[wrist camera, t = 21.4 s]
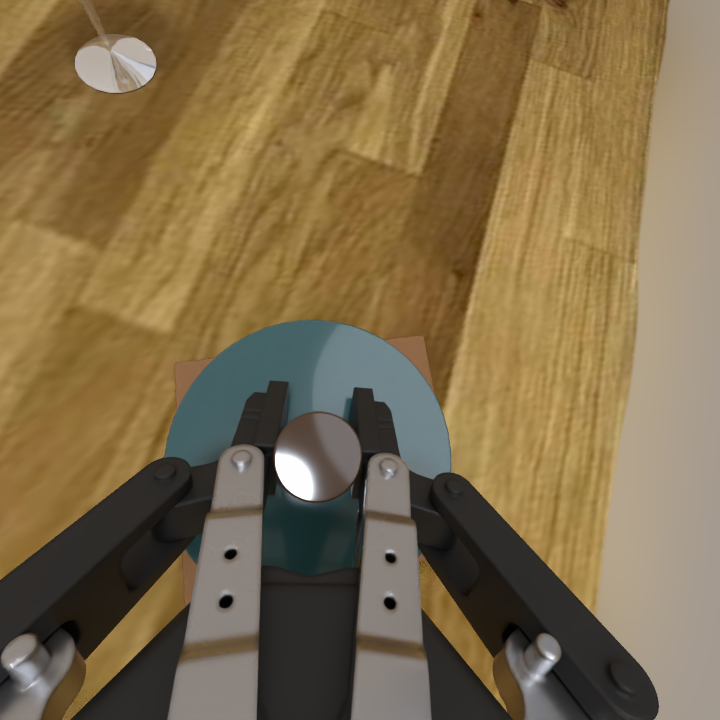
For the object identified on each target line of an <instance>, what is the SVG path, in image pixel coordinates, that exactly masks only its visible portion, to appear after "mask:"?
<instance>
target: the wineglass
mask: <svg viewBox="0 0 720 720" xmlns="http://www.w3.org/2000/svg"><path fill="white" fill-rule="evenodd" d="M79 1H80V3H81V4H82V6H83V8H84V10H85V12H86V14H87V15H88V17H89V19H90V21H91V23H92V24H93V26H94V28H95V30H96V32H97V34H98V35H99V36H98V37H96V38H94V39H92V40H90V41H88V42H86V43H85V44H84V45H83V46H82V47H81V48H80V49H79V51H78V53H77V55H76V57H75V69H76V71H77V73H78V75H79V77H80V78H81V79H82V80H83V81H84V82H85V83H86V84H87V85H89V86H91V87H93V88H95V89H97V90H100V91H105V92H109V93H124V92H128V91H132V90H136V89H138V88H139V87H141V86H143V85H145V84H146V83H147V82H148V81H149V80H150V79H151V78H152V77H153V75H154V72H155V69H156V58H155V56H154V54H153V52H152V50H151V49H150V48H149V47H148V46H147V45H146V44H145V43H144V42H142V41H140V40H138V39H136V38H134V37H131V36H127V35H123V34H107V35H106V33H105V31H104V29H103V27H102V24H101V22H100V20H99V18H98V15H97V13H96V11H95V9H94V6H93V4H92V2H91V0H79Z"/></svg>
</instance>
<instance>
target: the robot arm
mask: <svg viewBox="0 0 720 720" xmlns="http://www.w3.org/2000/svg"><path fill="white" fill-rule="evenodd" d="M288 391H289V382H285V381H273V380H270V381H269V385H268V389H267V392H266V393H262V392H254V393H253V394H252V395H251V396H250V397H249V398H248V399H247V400H246V403H245V406H244V409H243V412H242V415H241V419H240V421H239V424H238V427H237V430H236V433H235V435H234V438H233V441H232V444H231V447H230V448H229V449H227V450H226V451H224V452H223V453H222V455H221V456H220V458H219V460H217V461H214V462H212V463H208V464H204V465H199V466H194V467H190V465H189V463H188V462H187V461H186V460H184V459H182V458H178V457H166V458H161V459H158V460H156V461H154V462H152V463H150V464H149V465H147V466H146V467H145V468H143V469H142V470H141V471H140V472H138V473H137V474H136V475H134V476H133V477H132V478H131V479H129V480H128V481H127V482H126V483H124V484H123V485H122V486H120V487H119V488H118V489H117V490H115V491H114V492H113V493H111V494H110V495H109V496H108V497H106V498H105V499H104V500H102V501H101V502H100V503H99V504H97V505H96V506H95V507H93V508H92V509H91V510H90V511H88V512H87V513H86V514H84V515H83V516H82V517H81V518H79V519H78V520H77V521H75V522H74V523H73V524H72V525H70V526H69V527H68V528H67V529H65V530H64V531H63V532H61V533H60V534H59V535H58V536H56V537H55V538H54V539H52V540H51V541H50V542H49V543H47V544H46V545H45V546H43V547H42V548H41V549H40V550H38V551H37V552H36V553H34V554H33V555H32V556H31V557H29V558H28V559H27V560H25V561H24V562H23V563H22V564H20V565H19V566H18V567H16V568H15V569H14V570H13V571H11V572H10V573H9V574H8V575H6V576H5V577H4V578H2V579H1V580H0V720H62V718H63V716H64V714H65V712H66V711H67V709H68V708H69V706H70V705H71V704H72V702H73V701H74V699H75V698H76V697H77V695H78V693H79V691H80V690H81V687H82V685H83V683H84V679H85V675H86V664H85V660H86V659H87V658H88V656H89V655H90V654H91V653H92V652H93V651H94V650H95V649H96V648H97V646H98V645H99V644H100V643H101V642H102V641H103V640H104V639H105V638H106V637H107V635H108V634H109V633H110V632H111V631H112V630H113V629H114V628H115V627H116V625H117V624H118V623H119V622H120V621H121V620H122V619H123V618H124V617H125V615H126V614H127V613H128V612H129V611H130V610H131V609H132V608H133V607H134V605H135V604H136V603H137V602H138V601H139V600H140V599H141V598H142V597H143V596H144V594H145V593H146V592H147V591H148V590H149V589H150V588H151V587H152V586H153V584H154V583H155V582H156V581H157V580H158V579H159V578H160V577H161V576H162V574H163V573H164V572H165V571H166V570H167V569H168V568H169V567H170V566H171V564H172V563H173V562H174V561H175V560H176V559H177V558H178V557H179V556H180V555H181V553H182V552H183V551H184V550H185V549H186V548H187V547H188V546H189V545H190V543H191V542H192V541H193V540H194V539H195V537H196V535H200V534H203V535H202V541H201V547H200V552H199V558H198V564H197V570H196V576H195V581H194V587H193V593H192V599H191V602H190V603H189V604H188V605H187V606H186V607H185V608H184V609H183V610H182V611H181V612H180V613H179V614H178V615H177V616H176V617H175V618H174V619H173V620H172V621H171V622H169V623H168V624H167V625H166V626H165V627H164V628H163V629H162V630H161V631H160V632H159V633H158V634H157V635H156V636H155V637H154V638H153V639H152V640H151V641H150V642H149V643H148V644H147V645H146V646H145V647H144V648H143V649H142V650H141V651H140V652H139V653H138V654H137V655H136V656H135V657H134V658H133V659H132V660H131V661H130V662H129V663H128V664H127V665H126V666H125V667H124V668H123V669H122V670H121V671H120V672H119V673H118V674H117V675H116V676H115V677H114V678H113V679H112V680H110V681H109V682H108V683H107V684H106V685H105V686H104V687H103V688H102V689H101V690H100V691H99V692H98V693H97V694H96V695H95V696H94V697H93V698H92V699H91V700H90V701H89V702H88V703H87V704H86V705H85V706H84V707H83V708H82V709H81V710H80V711H79V712H78V713H77V714H76V715H75V716H74V717H73V718H72V719H71V720H654V719H655V717H656V716H657V713H658V708H659V704H658V697H657V694H656V691H655V688H654V686H653V684H652V682H651V680H650V678H649V677H648V675H647V673H646V672H645V671H644V670H643V668H642V667H641V666H640V665H639V663H637V661H636V660H635V659H634V658H633V657H632V656H631V655H630V654H629V653H628V652H627V651H626V649H624V647H623V646H622V645H621V644H620V643H619V642H618V641H617V640H616V639H615V638H614V637H613V636H612V634H611V633H610V632H609V631H608V630H607V629H606V628H605V627H604V626H603V625H602V624H601V623H600V622H599V621H598V619H597V618H596V617H595V616H594V615H593V614H592V613H591V612H590V611H589V610H588V609H587V608H586V607H585V606H584V604H583V603H582V602H581V601H580V600H579V599H578V598H577V597H576V596H575V595H574V594H573V593H572V592H571V591H570V590H569V588H568V587H567V586H566V585H565V584H564V583H563V582H562V581H561V580H560V579H559V578H558V577H557V576H556V575H555V573H554V572H553V571H552V570H551V569H550V568H549V567H548V566H547V565H546V564H545V563H544V562H543V561H542V560H541V558H540V557H539V556H538V555H537V554H536V553H535V552H534V551H533V550H532V549H531V548H530V547H529V546H528V545H527V544H526V542H525V541H524V540H523V539H522V538H521V537H520V536H519V535H518V534H517V533H516V532H515V531H514V530H513V529H512V527H511V526H510V525H509V524H508V523H507V522H506V521H505V520H504V519H503V518H502V517H501V516H500V515H499V514H498V512H497V511H496V510H495V509H494V508H493V507H492V506H491V505H490V504H489V503H488V502H487V501H486V500H485V499H484V498H483V496H482V495H481V494H480V493H479V492H478V491H477V490H476V489H475V488H474V487H473V486H472V485H471V484H470V483H469V482H468V481H467V480H466V479H465V478H463V477H462V476H460V475H458V474H455V473H450V472H445V473H440V474H438V475H437V476H436V477H435V478H434V480H433V479H430V478H427V477H424V476H421V475H418V474H416V473H414V472H412V471H411V470H409V468H408V465H407V464H406V462H405V461H404V460H403V459H402V458H401V457H400V452H399V447H398V442H397V437H396V432H395V429H394V422H393V417H392V412H391V410H390V408H389V407H388V406H387V405H386V403H385V402H380V401H374V395H373V389H372V388H359V387H354V390H353V396H352V402H351V408H350V415H349V424H350V425H351V426H352V427H353V429H354V430H355V432H356V433H357V435H358V437H359V440H360V443H361V447H362V465H361V469H360V472H359V475H358V477H357V479H356V481H355V482H354V484H353V485H352V486H351V499H359V510H358V515H357V523H356V533H355V543H354V553H353V562H352V567H345V568H341V569H337V570H333V571H329V572H325V573H321V574H317V575H313V576H308V575H304V574H301V573H297V572H294V571H291V570H287V569H284V568H280V567H277V566H263V526H264V509H265V506H266V501H267V496H268V495H275V490H276V484H277V477H276V474H275V471H274V467H273V450H274V446H275V443H276V440H277V438H278V436H279V434H280V433H281V431H282V430H283V428H284V427H285V426H286V423H287V412H288ZM418 548H419V550H420V551H421V553H422V554H423V556H424V557H425V558H426V560H427V561H428V563H429V564H430V566H431V567H432V569H433V570H434V572H435V573H436V575H437V576H438V577H439V579H440V580H441V582H442V583H443V585H444V586H445V588H446V589H447V591H448V592H449V594H450V595H451V596H452V598H453V599H454V601H455V602H456V604H457V605H458V607H459V608H460V610H461V611H462V613H463V614H464V615H465V617H466V618H467V620H468V621H469V623H470V624H471V626H472V627H473V629H474V630H475V632H476V633H477V634H478V636H479V637H480V639H481V640H482V642H483V643H484V645H485V646H486V648H487V649H488V651H489V652H490V653H491V655H492V656H493V658H494V661H493V677H494V681H495V684H496V686H497V688H498V690H499V694H500V696H501V698H502V700H503V701H504V703H505V705H506V708H507V712H508V713H507V712H506V710H505V709H504V708H503V707H502V706H501V704H500V703H499V702H498V701H497V700H496V698H495V697H494V696H493V695H492V693H491V692H490V691H489V690H488V689H487V687H486V686H485V685H484V684H483V683H482V681H481V680H480V679H479V678H478V676H477V675H476V674H475V673H474V672H473V670H472V669H471V668H470V667H469V665H468V664H467V663H466V662H465V661H464V659H463V658H462V657H461V656H460V655H459V653H458V652H457V651H456V650H455V648H454V647H453V646H452V645H451V644H450V642H449V641H448V640H447V639H446V638H445V636H444V635H443V634H442V633H441V631H440V630H439V629H438V628H437V627H436V625H435V624H434V623H433V622H432V621H431V619H430V618H429V617H428V616H427V614H426V613H425V612H424V611H423V610H422V608H421V598H420V580H419V563H418Z"/></svg>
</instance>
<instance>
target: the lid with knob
mask: <svg viewBox="0 0 720 720" xmlns="http://www.w3.org/2000/svg"><path fill="white" fill-rule="evenodd" d="M270 380H273V381H285V382H289V391H288V412H287V423H286V426H285V427H284V428H283V430H282V431H281V433H280V434H279V436H278V438H277V440H276V443H275V446H274V450H273V467H274V471H275V474H276V477H277V484H276V490H275V495H268V496H267V501H266V506H265V509H264V526H263V566H277V567H280V568H284V569H287V570H291V571H294V572H297V573H301V574H304V575H308V576H313V575H317V574H321V573H325V572H329V571H333V570H337V569H341V568H345V567H352V562H353V553H354V543H355V533H356V523H357V515H358V510H359V499H351V486H352V485H353V484H354V482H355V481H356V479H357V477H358V475H359V472H360V469H361V465H362V447H361V443H360V440H359V437H358V435H357V433H356V432H355V430H354V429H353V427H352V426H351V425H350V424H349V415H350V408H351V402H352V396H353V390H354V387H359V388H372V389H373V395H374V401H380V402H385V403H386V405H387V406H388V407H389V408H390V410H391V412H392V417H393V422H394V429H395V432H396V437H397V442H398V447H399V452H400V457H401V458H402V459H403V460H404V461H405V462H406V464H407V465H408V468H409V470H411V471H412V472H414V473H416V474H418V475H421V476H424V477H427V478H430V479H433V480H434V478H435V477H436V476H437V475H438V474H440V473H445V472H450V473H451V448H450V441H449V434H448V430H447V426H446V422H445V418H444V415H443V412H442V410H441V407H440V405H439V402H438V400H437V398H436V396H435V394H434V392H433V391H432V389H431V387H430V385H429V384H428V382H427V381H426V379H425V378H424V377H423V375H422V374H421V372H420V371H419V370H418V369H417V368H416V367H415V366H414V364H413V363H412V362H411V361H410V360H409V359H408V358H407V357H406V356H405V355H403V354H402V353H401V352H400V351H399V350H398V349H396V348H395V347H394V346H392V345H391V344H389V343H388V342H386V341H385V340H383V339H382V338H380V337H378V336H376V335H374V334H372V333H370V332H368V331H366V330H363V329H360V328H357V327H354V326H351V325H348V324H343V323H338V322H334V321H323V320H299V321H293V322H286V323H281V324H277V325H274V326H270V327H267V328H264V329H261V330H259V331H257V332H254V333H252V334H250V335H248V336H246V337H244V338H242V339H241V340H239V341H237V342H235V343H234V344H232V345H231V346H229V347H228V348H227V349H225V350H224V351H223V352H222V353H220V354H219V355H218V356H217V357H215V358H214V359H213V360H212V361H211V362H210V363H209V364H208V365H207V366H206V367H205V368H204V369H203V371H202V372H201V373H200V374H199V375H198V377H197V378H196V379H195V380H194V382H193V383H192V384H191V386H190V388H189V389H188V391H187V393H186V394H185V396H184V397H183V399H182V401H181V403H180V405H179V407H178V410H177V412H176V414H175V416H174V418H173V422H172V425H171V428H170V432H169V435H168V438H167V444H166V450H165V456H164V458H166V457H178V458H182V459H184V460H186V461H187V462H188V463H189V465H190V467H194V466H199V465H204V464H208V463H212V462H214V461H217V460H219V458H220V456H221V455H222V453H223V452H224V451H226V450H227V449H229V448H230V447H231V444H232V441H233V438H234V435H235V433H236V430H237V427H238V424H239V421H240V419H241V415H242V412H243V409H244V406H245V403H246V400H247V399H248V398H249V397H250V396H251V395H252V394H253V393H254V392H262V393H266V392H267V389H268V385H269V381H270ZM202 535H203V534H200V535H196V537H195V539H194V540H193V541H192V542H191V543H190V545H189V546H188V547H187V548H186V549H185V550H186V552H187V553H188V555H189V556H190V558H191V559H192V560H193V561H194V563H195V564H196V565H197V564H198V558H199V552H200V547H201V541H202ZM420 555H421V551H420V550H419V548H418V558H419V556H420Z"/></svg>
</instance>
